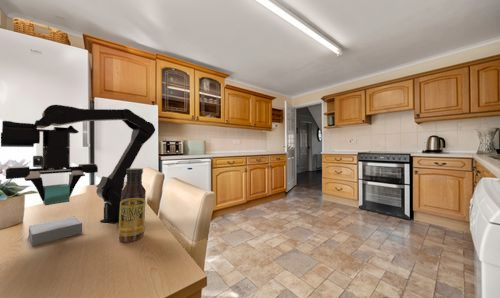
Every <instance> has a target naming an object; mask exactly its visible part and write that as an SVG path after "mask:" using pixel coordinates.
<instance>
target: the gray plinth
mask: <svg viewBox="0 0 500 298" xmlns="http://www.w3.org/2000/svg"><path fill="white" fill-rule="evenodd" d="M82 233H83V222H82V221H81V220H79V218H77V217H75V216H69V217H64V218H60V219H56V220H51V221H46V222H42V223H36V224H32V225H29V226H28V238H29V241H30V244H31V246H32V247H34V246H37V245H41V244H45V243H50V242H53V241H57V240H60V239H63V238H67V237H68V238H69V237H71V236H76V235H80V234H82Z"/></svg>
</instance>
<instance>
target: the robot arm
mask: <svg viewBox="0 0 500 298" xmlns="http://www.w3.org/2000/svg"><path fill="white" fill-rule="evenodd" d="M96 121H97V122H101V121H104V122H105V121H123V123H124V124H125V125H126V126H127V127H128V128H129V129H131V130H132V131H131V134H130V135H131V136H130V141H129V143H128V145H127V146H126V148H125V149H124V151H123V153H122V155H121V156H120V158H119V160H118V161H117V164H116V165H115V167H114V168H113V170H112V172H111V173H110V174H109V175H108V176H101V178H100V181H99V183H98V184H97V185H95V188H96V194H97V195H96V196H98V197H99V198H101V199H102V200H103V202H104V203H103V218H102V219H100V222H99V223H113V224H114V223H115V224H116V223H119V216H120V202H121V192H122V190H123V189H124V187H125V181H126V180H125V178H126V177H127V174H126V169H130V168H132V165H133V163H134V161H135V160H136V158H137V156H138V154H139V152H140V151H141V149H142V147H143V145H144V144H145V143H146V142H148V140H150V139H151V137H153V135H154V134H155V131H156V127H155V125H154V124H153V123H152V122H150V121H147V120H146V119H145V118H143V117H141V116H140V115H138V114H136V113H134V112H133V111H132V110H130V109H128V108H124V109H122V108H121V109H119V108H118V109H113V108H112V109H107V108H105V109H103V108H100V109H99V108H98V109H95V108H93V109H92V108H91V109H89V108H87V109H86V108H79V107H74V106H71V105H70V106H69V105H61V104H51V105H48V106H47V107H46V108H45V109H44V110H43V111H42V114H41V118H40V119H38V120H37V119H36V120H35V121H34V123H30V122H25V123H24V122H17V121H11V120H2V124H1V125H2V126H1V127H2V129H1V132H0V147H1V148H3V147H4V148H6V147H7V148H14V147H15V148H34V146H35V144H39V145H40V140H41V133H42V155H33V156H32V167H33V168H30V166H10V167H8V168H6V169H5V180H12V179H13V180H14V179H24V180H25V182H28V181H31V183H32V184H33V185H34V187H35V189H36V191H37V193H38V194H39V197H40V199H41V201H42V202H43V201H44V199H45V194H44V188H43V186H44V183H43V177H41V175H50V174H65V173H69V174H68V177H69V178H68V183H67V184H68V185H70V193H69V198H71V195H72V193H73V191H74V188H75V187H76V185H77V183H78V182H79V181H80V179H81V178H82V177H85V176H86V174H93V173H99V172H98V171H99V170H98V169H99V167H98V165H97V164H96V163H81V164H80V163H79V164H78V165H77V166H71V162H70V161H71V159H70V158H71V157H70V155H71V142H70V141H71V134H74V135H75V134H79V130H77V129H76V128H74V126H73V125H71V124H77V123H82V122H96ZM67 125H69V126H68V127H63V126H67ZM51 126H53V129H45V128H47V127H51Z"/></svg>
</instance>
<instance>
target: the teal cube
mask: <svg viewBox="0 0 500 298" xmlns="http://www.w3.org/2000/svg"><path fill="white" fill-rule="evenodd" d="M68 184H69V183H61V184H51V185H43V188H44V194H45V199H44V201H42V203H43V205H44V206H51V205H58V204H65V203H70V197H69V193H70V185H68Z"/></svg>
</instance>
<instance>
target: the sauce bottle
mask: <svg viewBox="0 0 500 298" xmlns="http://www.w3.org/2000/svg"><path fill="white" fill-rule="evenodd" d="M142 175H143V168H140V167H138V168H137V167H134V168H132V167H130V169H126V181H125V182H126V183H125V184H124V187H123V190H122V192H121V202H120V216H119V221H118V241H120V242H122V243H129V242H134V241H137V240H140V239H142V238H143V236H144V233H145V223H146V222H145V220H146V195H147V193H146V192H147V191H146V188H145V187H144V186H143V181H142V179H143V178H142V177H143V176H142Z"/></svg>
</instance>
